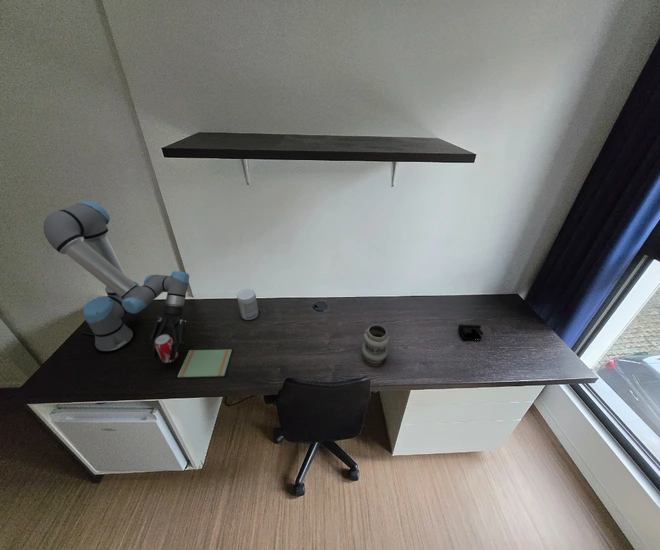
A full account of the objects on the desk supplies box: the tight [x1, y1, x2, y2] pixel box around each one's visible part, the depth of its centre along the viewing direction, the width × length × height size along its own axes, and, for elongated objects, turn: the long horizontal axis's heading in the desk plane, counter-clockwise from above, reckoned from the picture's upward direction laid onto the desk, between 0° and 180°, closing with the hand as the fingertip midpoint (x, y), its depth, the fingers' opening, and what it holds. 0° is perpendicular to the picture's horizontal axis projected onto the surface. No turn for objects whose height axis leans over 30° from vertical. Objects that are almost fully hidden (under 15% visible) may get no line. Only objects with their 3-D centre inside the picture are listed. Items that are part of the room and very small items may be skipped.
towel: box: [176, 348, 233, 379], centre depth 133 cm, size 20×15×1 cm
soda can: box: [155, 333, 179, 364], centre depth 127 cm, size 7×7×12 cm
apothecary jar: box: [361, 324, 391, 367], centre depth 134 cm, size 12×12×18 cm
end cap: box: [457, 323, 484, 342], centre depth 151 cm, size 10×7×7 cm
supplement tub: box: [236, 288, 259, 321], centre depth 157 cm, size 10×10×15 cm
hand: (163, 358), depth 125 cm, fingers closed on soda can, 7 cm apart
